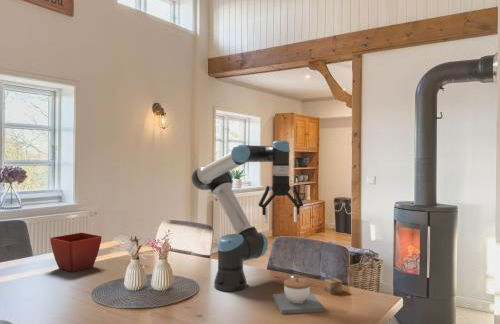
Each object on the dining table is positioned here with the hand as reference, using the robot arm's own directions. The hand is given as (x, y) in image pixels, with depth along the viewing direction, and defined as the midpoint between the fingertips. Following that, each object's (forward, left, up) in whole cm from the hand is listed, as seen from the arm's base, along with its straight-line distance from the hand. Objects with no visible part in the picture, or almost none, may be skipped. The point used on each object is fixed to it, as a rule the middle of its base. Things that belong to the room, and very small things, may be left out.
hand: (280, 222), depth 173 cm
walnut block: (+23, -5, -31) cm, 39 cm away
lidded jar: (+3, -18, -29) cm, 35 cm away
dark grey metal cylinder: (+6, -3, -31) cm, 31 cm away
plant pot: (-102, +49, -31) cm, 117 cm away
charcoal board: (+3, -18, -31) cm, 36 cm away
